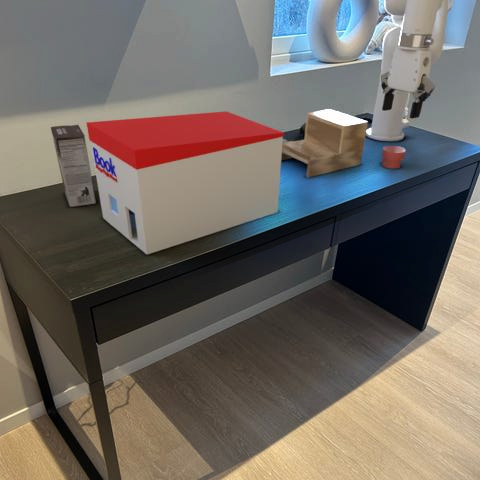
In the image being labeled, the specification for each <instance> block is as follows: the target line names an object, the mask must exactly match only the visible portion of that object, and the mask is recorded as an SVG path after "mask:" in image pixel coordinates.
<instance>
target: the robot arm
mask: <svg viewBox="0 0 480 480" xmlns="http://www.w3.org/2000/svg"><path fill="white" fill-rule="evenodd" d="M383 2H384V9H385V12H386V13H387V14H388V15H390V16H391V20H392V23H393V24H394V25H395V26H397V27H393V28H391V29H389V30H388V31H387V32H386V33H385V34H384V37H383V41H382V51H381V52H382V54H381V68H380V75H379V81H378V87H377V94H376V98H375V103H374V104H375V105H374V109H373V110H374V111H373V116H372V120H371V121H372V123H371V127H370V128H367V130H366V136H365V137H368V138H370V139H372V140H376V141H379V142H398V141H401V140H403V139H404V137H405V133H404V132H403V130H404V129H406V128H409V127H410V125H411V123H410V121H409V120H407V121H403V120H404V115H405V110H406V106H407V100H408V95H409V94H412V96H413V99H414V101H413V102H412V104H411V109H410V113H409V118H410V119H418V118H419V117H420V115H421V112H422V107H423V103H424V102H426V101H427V99H428V98H430V96H431V94H432V93H433V92H434V90H435V89H436V84H434V82H433V81H432V80H431V79H430V74H431V67H432V65H434V64H436V63H437V62H438V61H439V60H440V58H441V56H442V53H443V48H444V41H445V35H446V29H447V28H446V27H447V18H448V11H449V0H384V1H383Z"/></svg>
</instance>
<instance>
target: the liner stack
mask: <svg viewBox="0 0 480 480" xmlns="http://www.w3.org/2000/svg"><path fill="white" fill-rule="evenodd" d="M405 154H406V149H405V148H404V147H401V146H399V145H398V146H397V145H386V146H383V148H382V152H381V157H382V161H381V166H382V167H384V168H387V169H394V170H395V169H399V168H400V167H401V165H402V160H404V159H405Z"/></svg>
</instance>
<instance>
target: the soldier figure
mask: <svg viewBox="0 0 480 480" xmlns="http://www.w3.org/2000/svg"><path fill="white" fill-rule="evenodd" d="M276 130H278V131H281V130H280V128H278V129H276ZM290 142H294V140H290V141H288V140H286V139H284V138H283V141H282V143H283V144H285V143H290Z"/></svg>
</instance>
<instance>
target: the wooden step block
mask: <svg viewBox="0 0 480 480" xmlns="http://www.w3.org/2000/svg"><path fill="white" fill-rule="evenodd" d="M305 123H306V128H305V135H304V139H300V140H295V141H293V142H290V141H289V142H290V143H285V144H283V143H282V156H281V161H284V160H290V159H293V158H294V159H295V160H298V161H300V162H303V164H306V165H307V167H306V178H312V177H316V176H320V175H324V174H329V173H332V172H336V171H340V170H344V169H348V168H352V167H356V166H359V165H362V159H363V154H364V147H365V141H366V137H367V136H366V130H367V129H368V125H369V121H368V120H364V119H362V118H358V117H356V116H352V115H349V114H347V113H344V112H340V111H337V110H334V109H331V108H327V109H323V110H317V111H311V112H307V113H306V119H305Z"/></svg>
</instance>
